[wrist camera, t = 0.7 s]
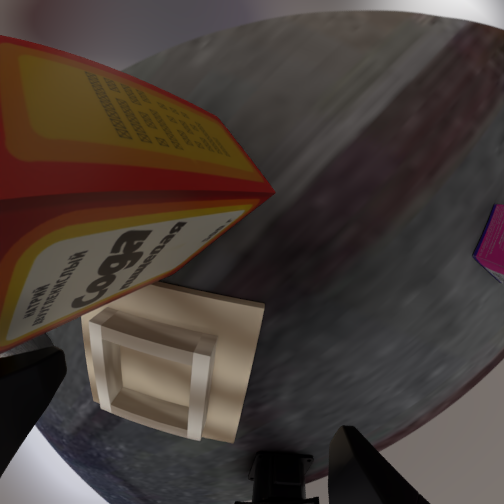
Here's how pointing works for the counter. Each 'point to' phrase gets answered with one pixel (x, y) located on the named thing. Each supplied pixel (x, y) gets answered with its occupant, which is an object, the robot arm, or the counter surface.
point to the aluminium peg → (30, 345)
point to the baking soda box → (103, 186)
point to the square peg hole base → (173, 359)
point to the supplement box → (493, 244)
